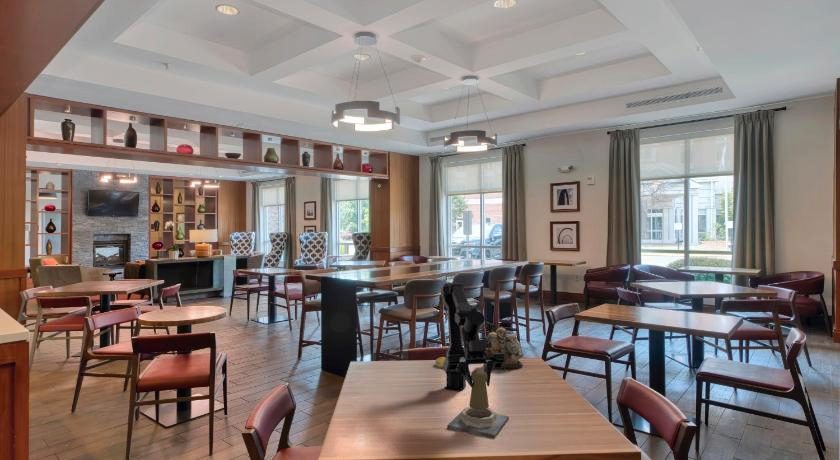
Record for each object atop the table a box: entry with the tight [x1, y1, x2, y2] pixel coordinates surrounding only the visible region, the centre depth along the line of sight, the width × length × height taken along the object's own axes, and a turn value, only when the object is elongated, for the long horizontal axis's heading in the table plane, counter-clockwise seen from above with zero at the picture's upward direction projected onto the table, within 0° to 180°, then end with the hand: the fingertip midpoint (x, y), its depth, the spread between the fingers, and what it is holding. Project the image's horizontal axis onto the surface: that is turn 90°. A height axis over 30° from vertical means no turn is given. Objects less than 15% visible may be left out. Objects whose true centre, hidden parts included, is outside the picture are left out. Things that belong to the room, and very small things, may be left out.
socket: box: [446, 406, 510, 439], centre depth 148 cm, size 15×15×4 cm
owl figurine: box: [483, 327, 524, 371], centre depth 210 cm, size 18×12×17 cm, turn 93°
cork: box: [469, 369, 490, 410], centre depth 148 cm, size 6×6×11 cm
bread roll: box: [434, 356, 446, 369], centre depth 210 cm, size 8×9×4 cm
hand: (480, 386), depth 146 cm, fingers closed on cork, 5 cm apart
